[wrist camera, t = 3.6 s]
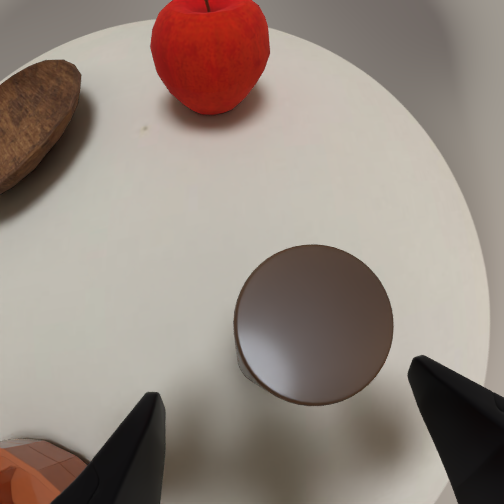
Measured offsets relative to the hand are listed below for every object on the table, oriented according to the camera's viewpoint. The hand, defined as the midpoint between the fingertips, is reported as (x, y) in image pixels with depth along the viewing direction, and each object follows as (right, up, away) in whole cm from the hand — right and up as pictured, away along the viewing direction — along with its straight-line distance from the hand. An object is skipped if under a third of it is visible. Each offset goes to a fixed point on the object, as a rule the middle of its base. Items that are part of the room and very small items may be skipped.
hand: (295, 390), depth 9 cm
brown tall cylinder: (-1, -2, +9) cm, 9 cm away
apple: (-5, +19, +18) cm, 27 cm away
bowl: (-28, +16, +16) cm, 36 cm away
